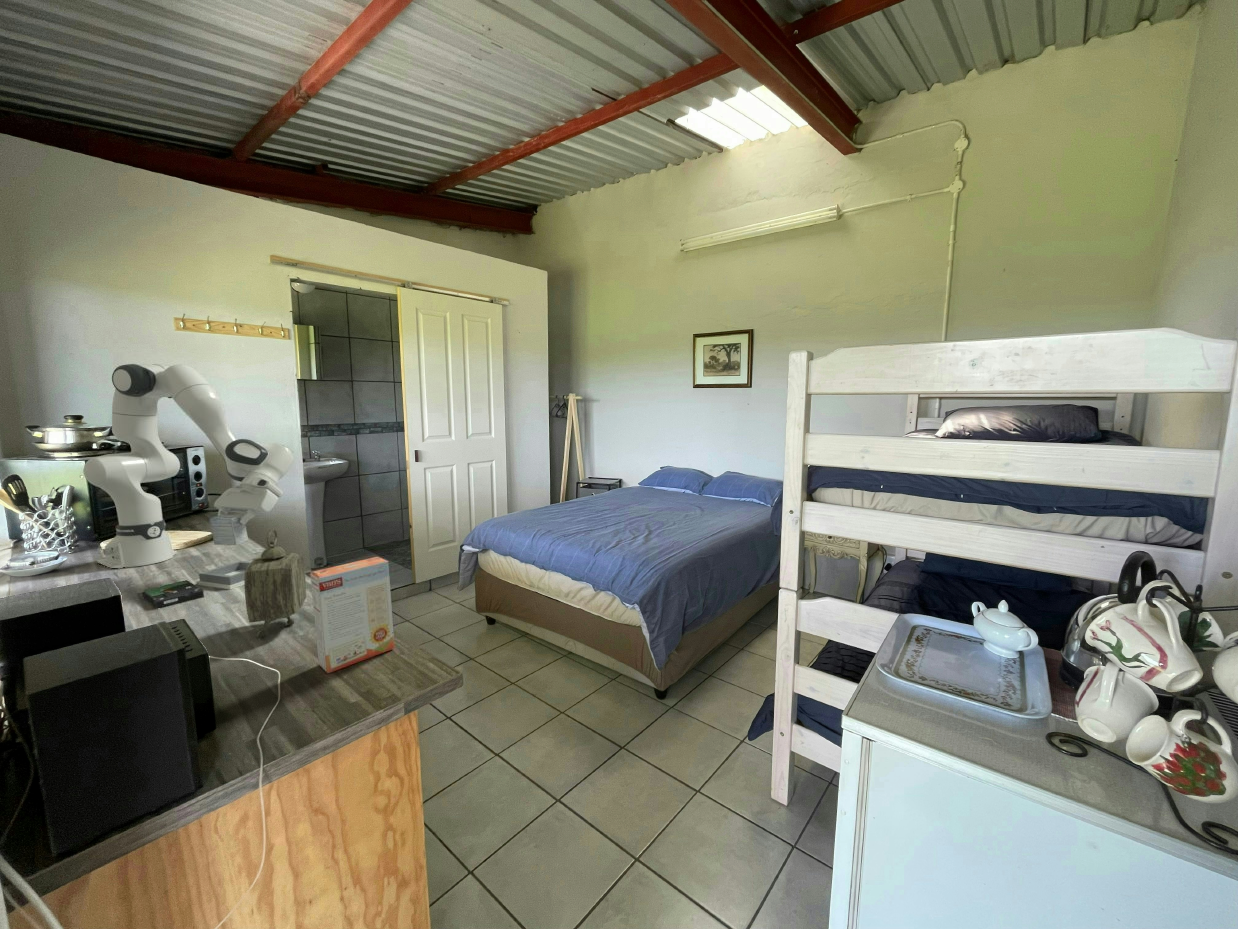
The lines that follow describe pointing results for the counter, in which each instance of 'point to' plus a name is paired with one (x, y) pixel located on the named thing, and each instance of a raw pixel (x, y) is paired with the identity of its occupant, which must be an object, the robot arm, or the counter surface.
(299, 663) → the counter surface
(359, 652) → the cracker box
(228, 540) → the medicine box
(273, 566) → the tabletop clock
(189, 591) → the disk drive
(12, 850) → the counter surface
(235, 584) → the dock
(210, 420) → the robot arm
